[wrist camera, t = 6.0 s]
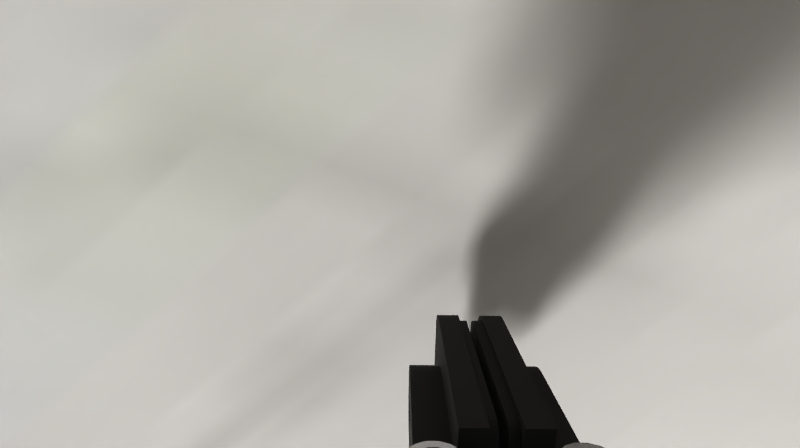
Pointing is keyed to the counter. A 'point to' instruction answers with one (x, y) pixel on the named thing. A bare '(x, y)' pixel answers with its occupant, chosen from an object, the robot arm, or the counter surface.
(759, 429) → the counter surface
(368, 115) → the counter surface
